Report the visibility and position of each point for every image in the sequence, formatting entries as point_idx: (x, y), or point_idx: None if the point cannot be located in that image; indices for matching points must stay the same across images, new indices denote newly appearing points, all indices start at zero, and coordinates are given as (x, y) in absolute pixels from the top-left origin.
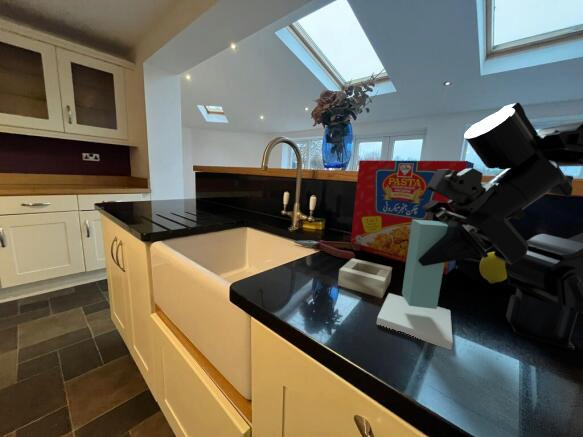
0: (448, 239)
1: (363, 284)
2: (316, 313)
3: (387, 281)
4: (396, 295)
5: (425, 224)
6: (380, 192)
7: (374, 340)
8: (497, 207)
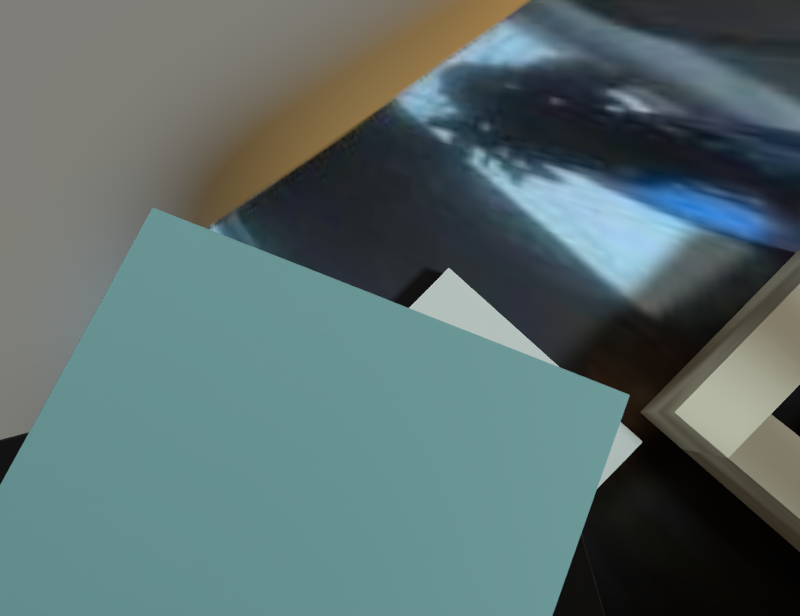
0: (7, 439)
1: (728, 338)
2: (539, 106)
3: (774, 514)
4: (613, 466)
5: (119, 271)
6: None
7: (382, 231)
8: None
